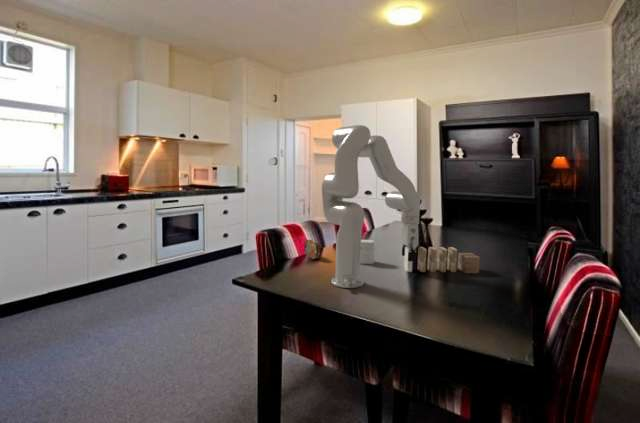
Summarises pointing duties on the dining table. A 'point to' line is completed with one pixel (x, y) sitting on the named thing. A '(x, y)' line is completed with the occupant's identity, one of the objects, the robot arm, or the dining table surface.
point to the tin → (312, 249)
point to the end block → (468, 262)
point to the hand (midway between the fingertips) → (408, 258)
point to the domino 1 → (407, 263)
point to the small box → (367, 252)
